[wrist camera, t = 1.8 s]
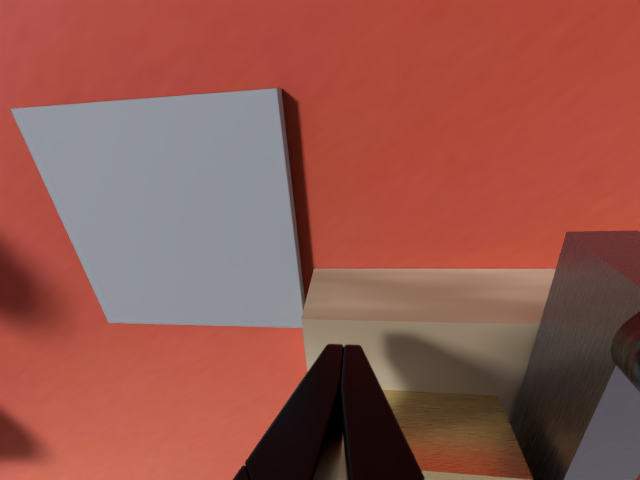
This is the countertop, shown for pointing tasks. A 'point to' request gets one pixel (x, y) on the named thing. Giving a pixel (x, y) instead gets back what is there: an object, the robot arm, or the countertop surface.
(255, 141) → the rubber mat
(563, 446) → the latch lever
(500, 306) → the cream rectangular block
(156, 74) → the countertop surface
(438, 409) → the tan wooden block
